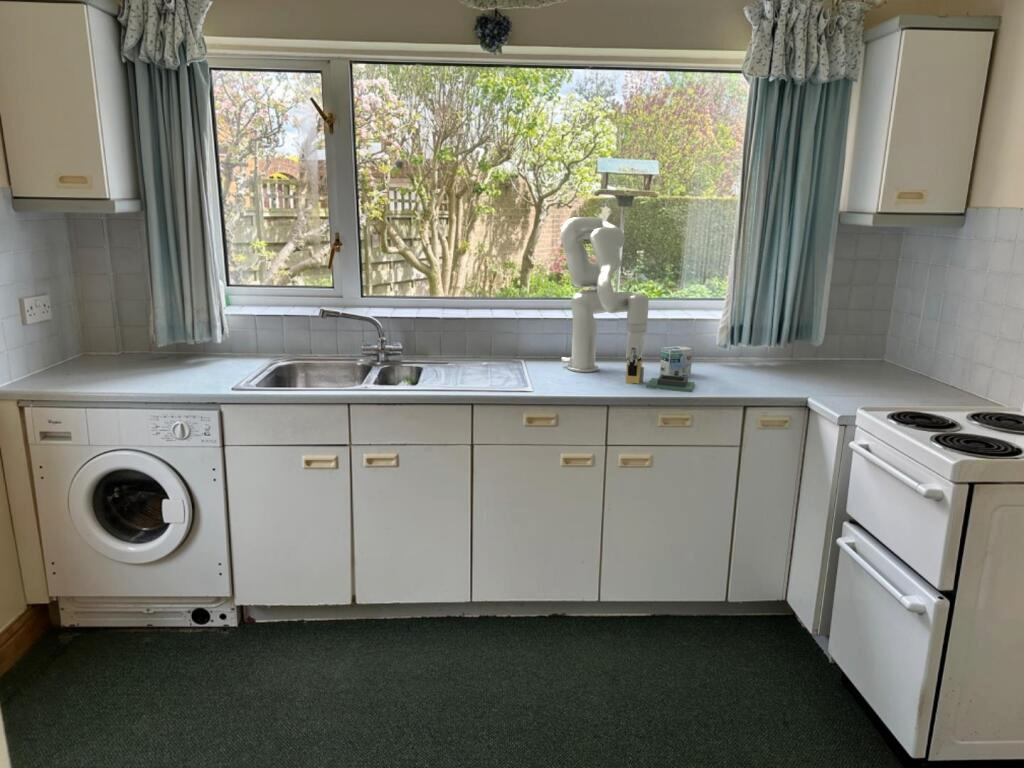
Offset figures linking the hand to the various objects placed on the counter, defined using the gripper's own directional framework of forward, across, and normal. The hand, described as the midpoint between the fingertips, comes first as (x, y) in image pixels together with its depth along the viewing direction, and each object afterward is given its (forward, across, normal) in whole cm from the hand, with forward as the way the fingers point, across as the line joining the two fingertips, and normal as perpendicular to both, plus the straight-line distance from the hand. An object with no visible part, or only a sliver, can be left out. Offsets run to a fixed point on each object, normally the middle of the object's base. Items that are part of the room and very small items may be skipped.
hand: (634, 373), depth 273 cm
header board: (+4, 0, +14) cm, 14 cm away
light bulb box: (+4, -20, +13) cm, 24 cm away
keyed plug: (+4, 0, 0) cm, 4 cm away
